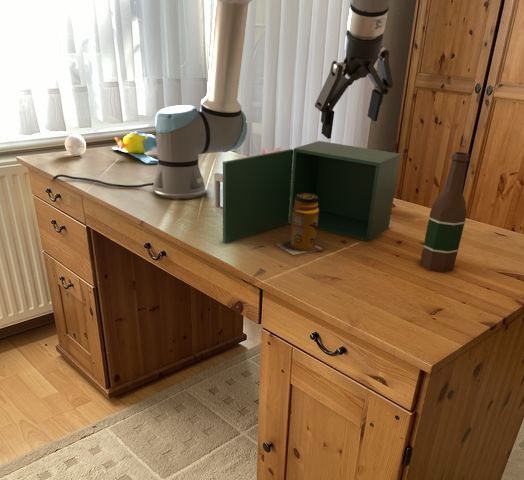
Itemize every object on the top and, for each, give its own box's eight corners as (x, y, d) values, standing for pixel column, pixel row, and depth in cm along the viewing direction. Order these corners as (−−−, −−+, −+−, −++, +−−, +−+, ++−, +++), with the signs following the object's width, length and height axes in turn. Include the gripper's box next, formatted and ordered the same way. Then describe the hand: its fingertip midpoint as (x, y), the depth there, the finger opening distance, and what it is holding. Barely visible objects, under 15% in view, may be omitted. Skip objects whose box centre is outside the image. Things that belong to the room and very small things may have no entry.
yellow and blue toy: (100, 126, 201) (137, 124, 210) (102, 150, 206) (138, 147, 214) (135, 139, 183) (174, 136, 191) (137, 165, 187) (175, 161, 196)
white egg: (63, 154, 198) (59, 133, 194) (83, 152, 202) (80, 131, 198) (72, 160, 191) (69, 138, 187) (93, 158, 195) (90, 136, 191)
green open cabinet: (368, 241, 132) (379, 162, 122) (288, 222, 142) (293, 148, 132) (388, 228, 141) (400, 153, 131) (312, 210, 151) (318, 140, 142)
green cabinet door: (207, 236, 130) (206, 157, 121) (271, 217, 144) (274, 145, 135) (225, 243, 127) (225, 162, 117) (288, 223, 141) (293, 149, 131)
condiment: (323, 249, 126) (328, 198, 120) (293, 255, 122) (297, 202, 116) (304, 239, 131) (308, 189, 125) (275, 245, 127) (278, 194, 121)
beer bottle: (413, 259, 123) (435, 148, 110) (446, 259, 124) (472, 149, 111) (425, 272, 116) (449, 157, 104) (460, 273, 117) (488, 158, 105)
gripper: (326, 55, 104) (315, 151, 121) (424, 24, 112) (400, 119, 129) (304, 38, 107) (296, 134, 125) (400, 10, 115) (380, 104, 133)
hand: (349, 127), depth 127 cm, fingers open, 13 cm apart
